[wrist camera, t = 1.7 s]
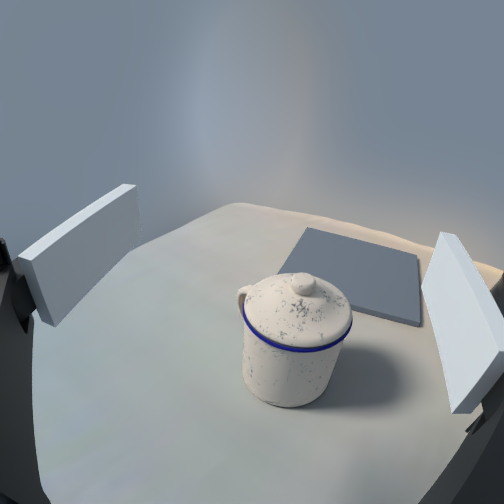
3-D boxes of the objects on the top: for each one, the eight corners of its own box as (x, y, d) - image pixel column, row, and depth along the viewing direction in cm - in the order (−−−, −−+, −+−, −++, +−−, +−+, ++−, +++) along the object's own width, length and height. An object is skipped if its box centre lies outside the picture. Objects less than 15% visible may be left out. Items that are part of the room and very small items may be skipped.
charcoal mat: (415, 259, 50) (416, 255, 50) (418, 327, 36) (420, 322, 36) (306, 231, 57) (307, 227, 56) (271, 287, 42) (272, 282, 42)
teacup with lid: (348, 375, 30) (383, 283, 24) (284, 428, 25) (309, 339, 19) (268, 315, 38) (278, 226, 32) (204, 350, 32) (198, 254, 26)
